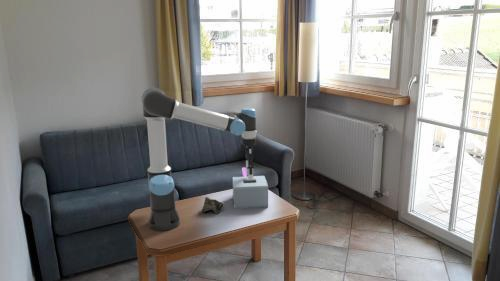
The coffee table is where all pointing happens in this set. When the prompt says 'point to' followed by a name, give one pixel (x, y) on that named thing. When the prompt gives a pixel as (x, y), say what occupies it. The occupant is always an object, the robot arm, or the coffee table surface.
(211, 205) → the fossil
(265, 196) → the coin box
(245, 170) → the toy chair
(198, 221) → the coffee table surface
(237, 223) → the coffee table surface
